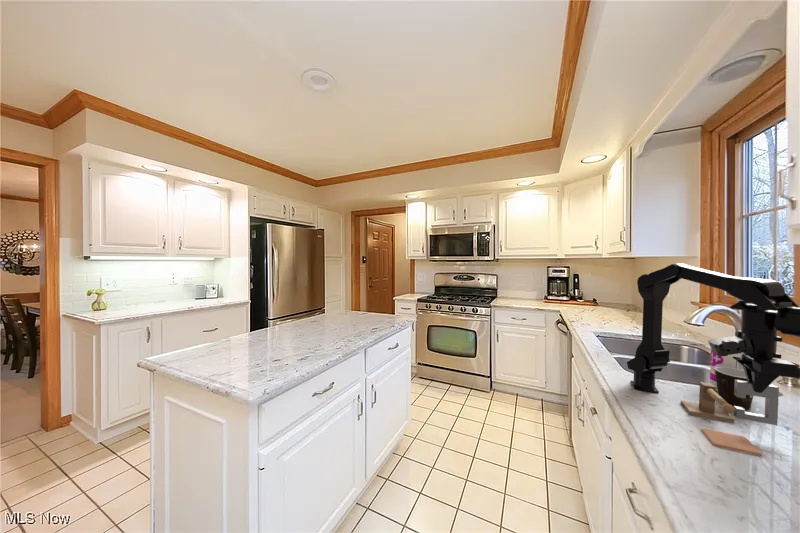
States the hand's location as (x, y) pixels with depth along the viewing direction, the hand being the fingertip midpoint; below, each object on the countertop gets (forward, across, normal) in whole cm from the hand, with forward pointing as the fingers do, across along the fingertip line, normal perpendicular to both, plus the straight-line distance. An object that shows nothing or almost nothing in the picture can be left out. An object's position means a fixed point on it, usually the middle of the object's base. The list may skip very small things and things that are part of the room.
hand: (755, 390), depth 73 cm
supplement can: (+12, -31, +6) cm, 34 cm away
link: (+8, 0, 0) cm, 8 cm away
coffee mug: (+12, -19, +2) cm, 23 cm away
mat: (+12, +6, -6) cm, 15 cm away
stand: (+12, -5, -6) cm, 14 cm away
